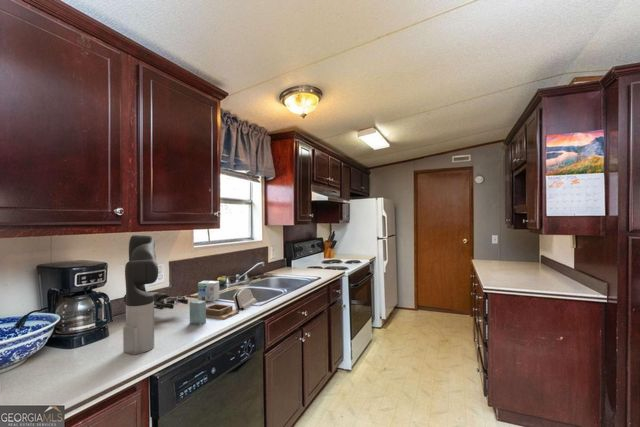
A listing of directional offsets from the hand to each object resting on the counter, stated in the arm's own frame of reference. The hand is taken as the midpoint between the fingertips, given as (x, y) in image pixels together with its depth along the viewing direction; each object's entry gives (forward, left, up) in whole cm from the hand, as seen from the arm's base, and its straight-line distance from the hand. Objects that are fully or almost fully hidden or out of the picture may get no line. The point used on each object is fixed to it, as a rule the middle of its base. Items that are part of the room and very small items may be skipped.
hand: (180, 304), depth 149 cm
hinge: (+32, -13, -8) cm, 35 cm away
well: (+14, -10, -8) cm, 19 cm away
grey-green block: (0, -11, -8) cm, 14 cm away
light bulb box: (+34, +15, -8) cm, 38 cm away
